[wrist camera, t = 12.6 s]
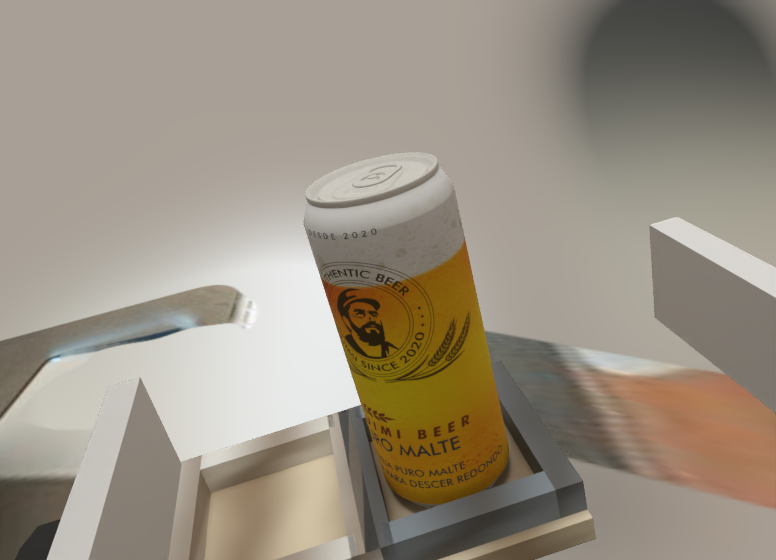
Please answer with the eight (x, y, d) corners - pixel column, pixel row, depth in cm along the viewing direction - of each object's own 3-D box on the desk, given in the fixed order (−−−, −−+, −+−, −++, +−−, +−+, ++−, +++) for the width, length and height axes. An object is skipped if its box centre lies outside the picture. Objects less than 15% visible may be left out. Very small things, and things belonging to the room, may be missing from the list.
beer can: (366, 507, 31) (264, 210, 25) (416, 423, 35) (342, 157, 29) (489, 529, 28) (409, 199, 22) (526, 434, 32) (469, 141, 26)
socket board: (177, 680, 26) (150, 635, 25) (199, 495, 36) (180, 456, 35) (595, 538, 28) (588, 489, 26) (505, 397, 38) (497, 356, 36)
